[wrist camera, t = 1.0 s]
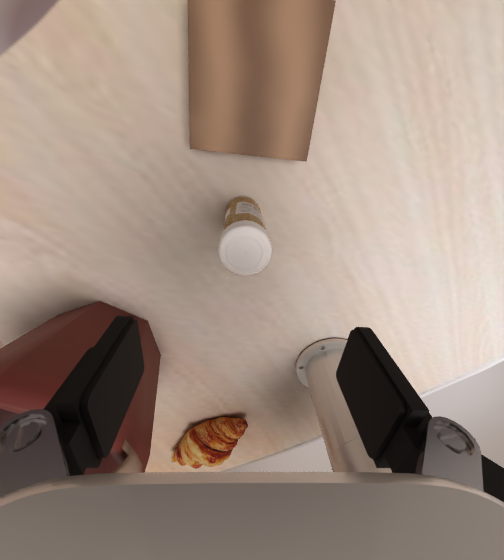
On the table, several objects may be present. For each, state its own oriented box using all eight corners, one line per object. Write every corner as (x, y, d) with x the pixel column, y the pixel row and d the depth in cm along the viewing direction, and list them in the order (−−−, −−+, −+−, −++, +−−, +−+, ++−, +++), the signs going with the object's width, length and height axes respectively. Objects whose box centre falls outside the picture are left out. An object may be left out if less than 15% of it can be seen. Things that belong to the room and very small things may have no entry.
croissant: (187, 440, 62) (193, 479, 57) (152, 445, 54) (156, 491, 50) (253, 404, 56) (265, 444, 51) (224, 404, 48) (236, 452, 43)
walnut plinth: (321, 21, 24) (335, 0, 20) (298, 159, 30) (306, 161, 26) (195, 2, 23) (187, -24, 20) (196, 148, 29) (190, 148, 25)
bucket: (45, 383, 46) (-135, 604, 24) (3, 276, 35) (-388, 493, 13) (182, 388, 48) (132, 595, 26) (180, 290, 38) (94, 495, 16)
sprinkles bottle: (218, 213, 32) (205, 252, 20) (244, 187, 31) (246, 214, 19) (242, 237, 34) (244, 287, 22) (268, 214, 33) (284, 254, 21)
